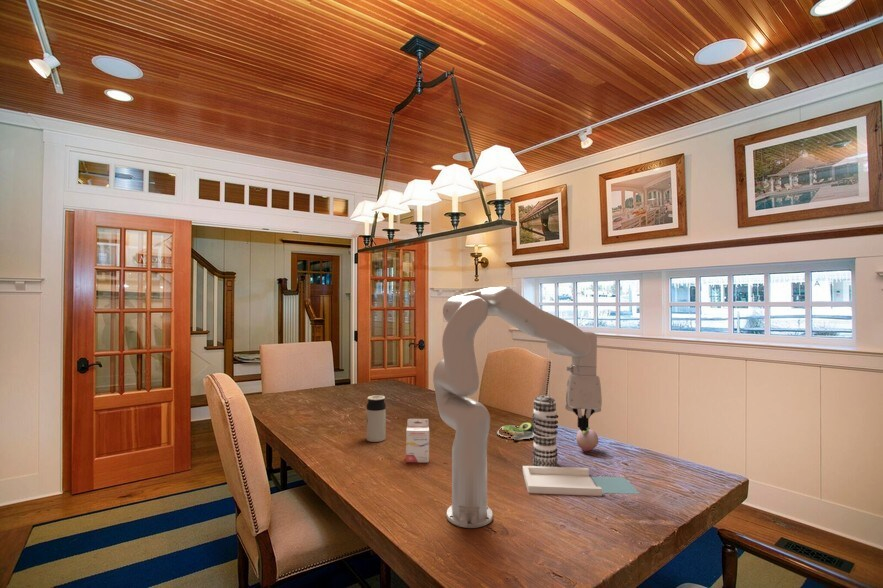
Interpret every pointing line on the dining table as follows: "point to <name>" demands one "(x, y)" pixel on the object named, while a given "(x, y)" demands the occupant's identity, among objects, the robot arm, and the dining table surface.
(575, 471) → the white flat tray
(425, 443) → the ink cartridge box
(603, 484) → the cover plate
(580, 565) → the dining table surface
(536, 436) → the decorative candle
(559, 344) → the robot arm
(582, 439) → the decorative fruit
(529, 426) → the plate of avocado toast
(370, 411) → the travel mug
